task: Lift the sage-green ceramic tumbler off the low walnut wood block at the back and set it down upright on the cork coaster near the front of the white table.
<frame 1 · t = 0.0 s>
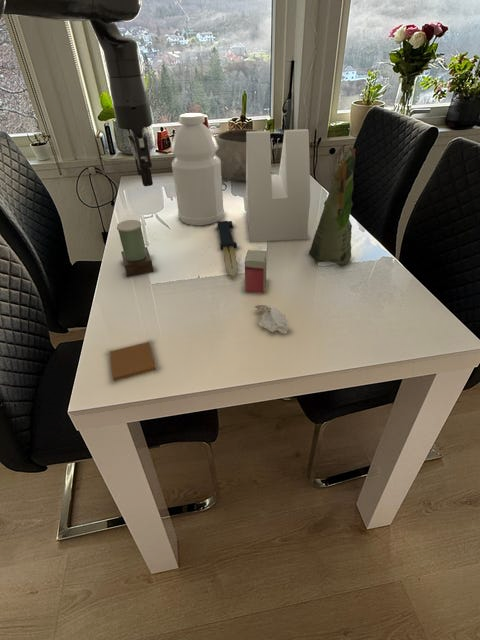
hand: (145, 180, 88), 18 cm above the table, tool pointing down, fingers open, 8 cm apart
small box: (255, 287, 84), on the table
bottle: (201, 217, 115), on the table
pouch: (330, 258, 93), on the table
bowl: (242, 176, 146), on the table
tumbler: (136, 255, 90), point 3 cm above the table, touching walnut wood block
coaster: (132, 361, 66), on the table
walnut wood block: (138, 266, 92), on the table
knife: (229, 250, 98), on the table
tissue: (270, 323, 73), on the table
white slotted block: (274, 226, 109), on the table
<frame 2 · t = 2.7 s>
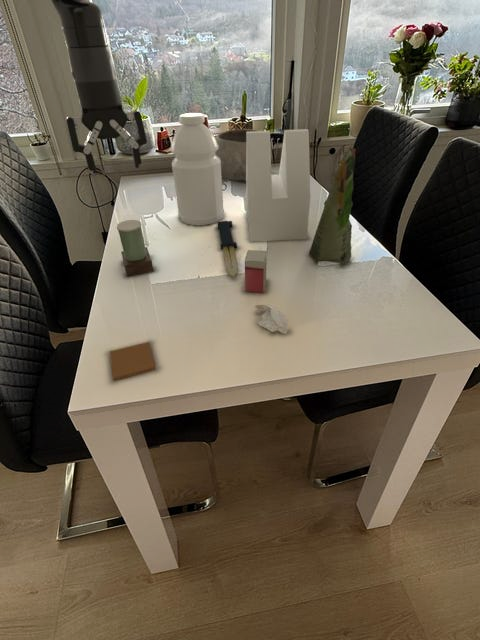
hand: (116, 169, 78), 23 cm above the table, tool pointing down, fingers open, 8 cm apart
nothing on the table moved.
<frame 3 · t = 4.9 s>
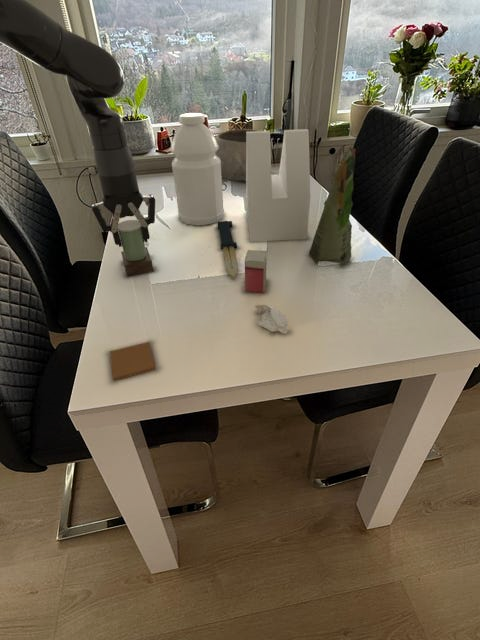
hand: (132, 242, 88), 6 cm above the table, tool pointing down, fingers closed on tumbler, 5 cm apart
tumbler: (136, 255, 90), point 3 cm above the table, touching gripper, walnut wood block
everything else where it was.
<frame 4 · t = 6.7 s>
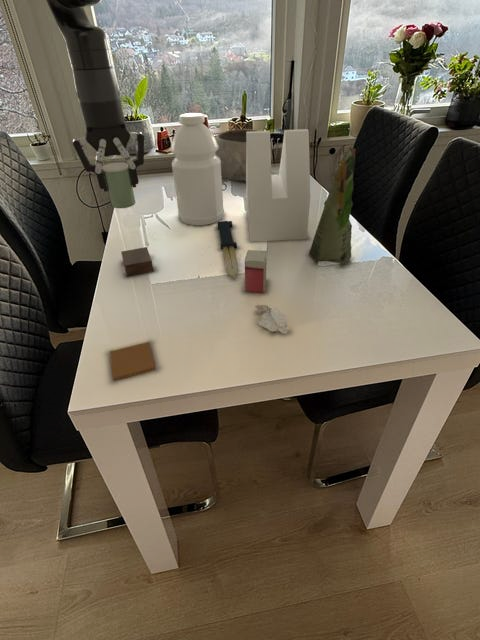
hand: (119, 188, 80), 19 cm above the table, tool pointing down, fingers closed on tumbler, 5 cm apart
tumbler: (123, 204, 82), point 16 cm above the table, touching gripper
everything else where it was.
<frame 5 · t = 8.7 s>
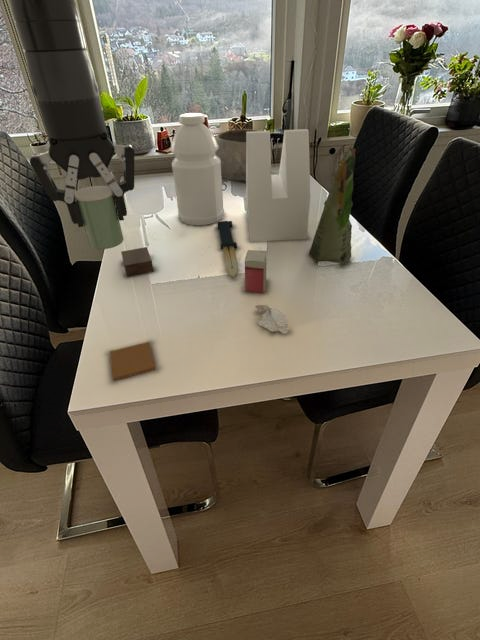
hand: (101, 221, 57), 23 cm above the table, tool pointing down, fingers closed on tumbler, 5 cm apart
tumbler: (106, 241, 60), point 20 cm above the table, touching gripper
everything else where it was.
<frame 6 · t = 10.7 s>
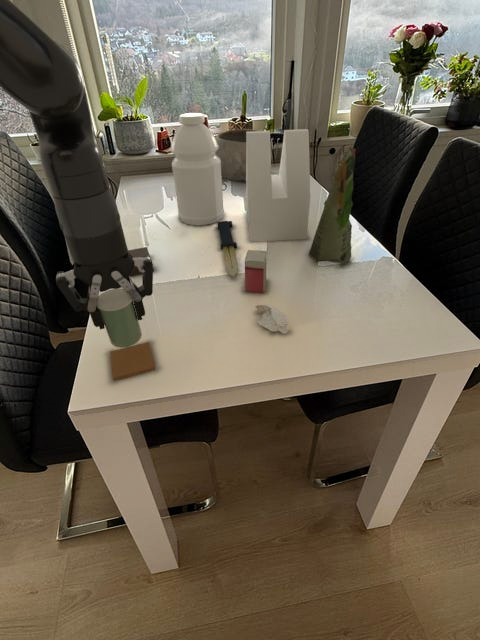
hand: (120, 321, 61), 9 cm above the table, tool pointing down, fingers closed on tumbler, 5 cm apart
tumbler: (126, 337, 63), point 5 cm above the table, touching gripper
everything else where it was.
when the fingers open (4 cm above the table, at t = 12.4 s): tumbler stays where it is, resting on coaster.
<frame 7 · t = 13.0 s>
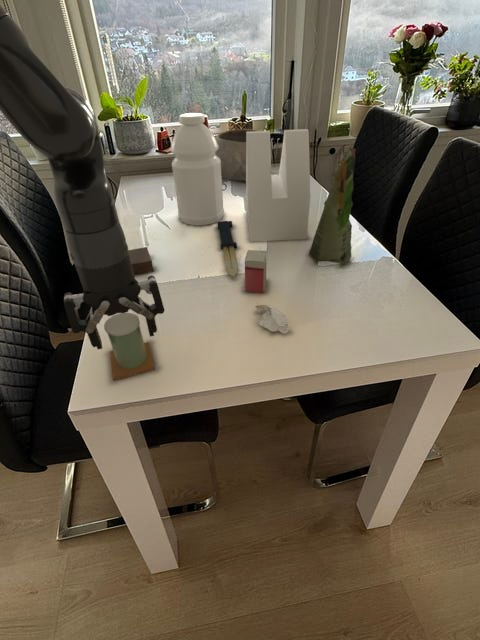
hand: (125, 339, 63), 5 cm above the table, tool pointing down, fingers open, 8 cm apart
tumbler: (132, 358, 66), point 1 cm above the table, touching coaster
everything else where it was.
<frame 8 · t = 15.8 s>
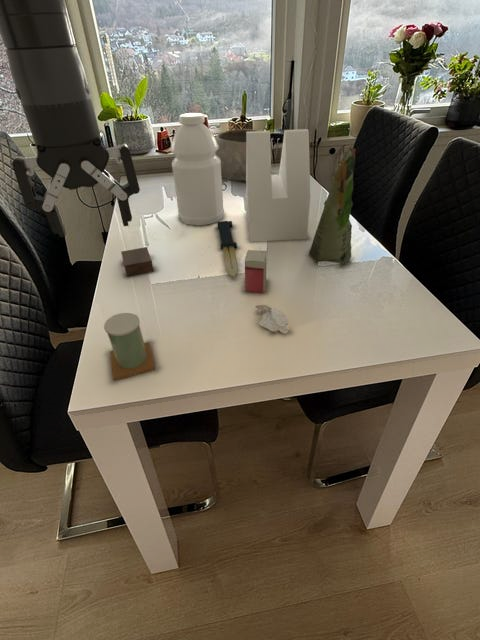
hand: (94, 229, 53), 24 cm above the table, tool pointing down, fingers open, 8 cm apart
nothing on the table moved.
at the end: tumbler 0.1 cm off-centre on the coaster, point 0.6 cm above the coaster's base; tumbler tilted 0° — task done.
